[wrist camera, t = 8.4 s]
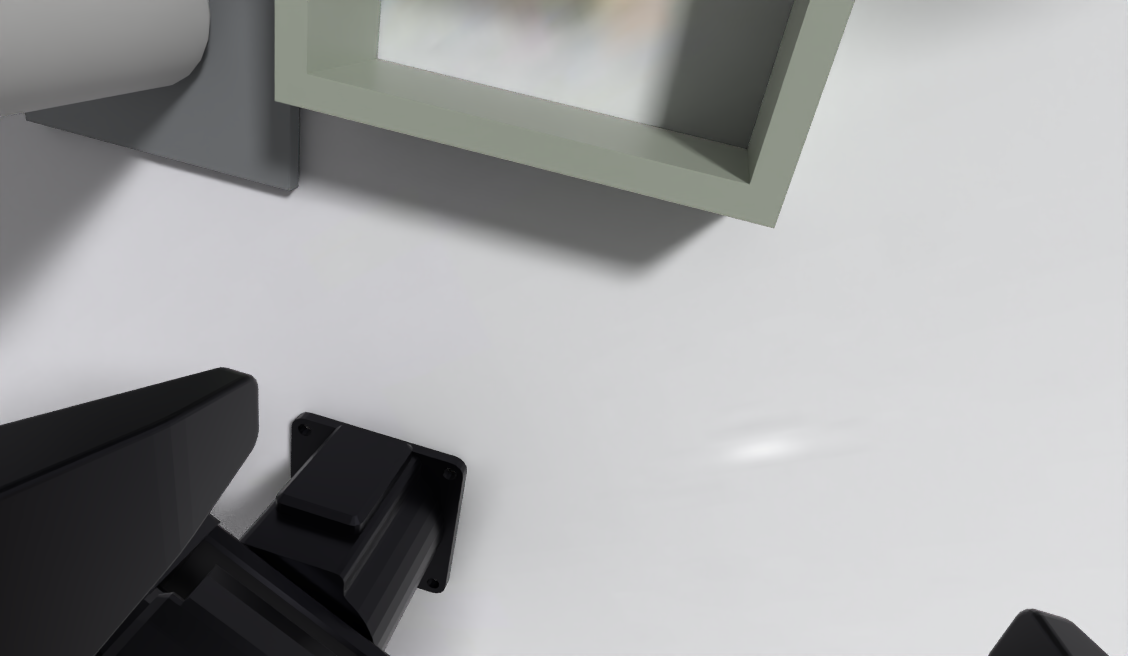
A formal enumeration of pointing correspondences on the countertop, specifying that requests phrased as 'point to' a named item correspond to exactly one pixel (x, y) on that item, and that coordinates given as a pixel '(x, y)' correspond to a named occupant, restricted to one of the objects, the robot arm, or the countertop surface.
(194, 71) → the pad
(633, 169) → the case
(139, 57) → the beverage can
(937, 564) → the countertop surface
